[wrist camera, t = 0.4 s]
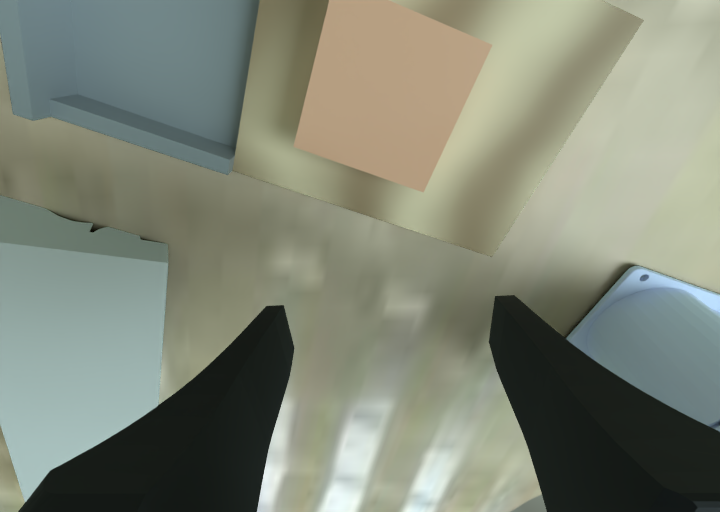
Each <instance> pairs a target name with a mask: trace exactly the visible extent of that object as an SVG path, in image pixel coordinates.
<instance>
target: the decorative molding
mask: <svg viewBox="0 0 720 512" xmlns="http://www.w3.org/2000/svg"><path fill="white" fill-rule="evenodd" d="M92 225H93V223H83V222H76V221H71V220H68V219H65V218H63V217H60V216H58V215H56V214H54V213H52V212H51V211H49V210H47V209H46V208H42V207H39V206H36V205H32V204H29V203H25V202H22V201H18V200H15V199H12V198H8V197H5V196H1V195H0V425H1V428H2V431H3V435H4V438H5V441H6V444H7V447H8V450H9V453H10V457H11V460H12V463H13V466H14V469H15V472H16V475H17V479H18V482H19V485H20V488H21V491H22V494H23V497H24V501H25V502H26V501H27V500H28V499H29V497H30V496H31V495H32V493H33V492H34V491H35V489H36V488H37V487H38V486H39V484H40V483H41V482H42V480H43V479H44V478H45V476H46V475H47V474H48V473H49V471H50V470H52V469H54V468H56V467H58V466H60V465H62V464H63V463H65V462H67V461H69V460H71V459H73V458H74V457H76V456H78V455H80V454H82V453H83V452H85V451H87V450H89V449H91V448H93V447H94V446H96V445H98V444H100V443H101V442H103V441H105V440H106V439H108V438H110V437H111V436H113V435H115V434H116V433H118V432H119V431H121V430H123V429H124V428H126V427H127V426H129V425H130V424H132V423H134V422H135V421H137V420H138V419H140V418H141V417H143V416H144V415H146V414H147V413H148V412H150V411H151V410H153V409H154V408H155V407H157V406H158V403H159V389H160V375H161V360H162V346H163V332H164V318H165V304H166V290H167V276H168V244H165V243H159V242H153V241H146V240H141V239H140V236H138V235H135V234H131V233H128V232H124V231H121V230H118V229H114V228H111V227H105V228H101V229H98V230H97V231H95V232H89V231H90V229H91V227H92Z"/></svg>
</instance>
